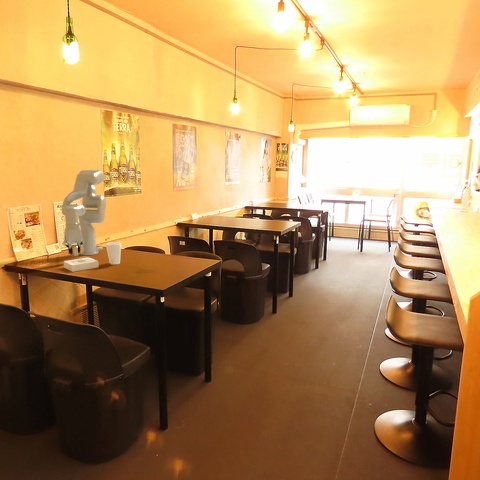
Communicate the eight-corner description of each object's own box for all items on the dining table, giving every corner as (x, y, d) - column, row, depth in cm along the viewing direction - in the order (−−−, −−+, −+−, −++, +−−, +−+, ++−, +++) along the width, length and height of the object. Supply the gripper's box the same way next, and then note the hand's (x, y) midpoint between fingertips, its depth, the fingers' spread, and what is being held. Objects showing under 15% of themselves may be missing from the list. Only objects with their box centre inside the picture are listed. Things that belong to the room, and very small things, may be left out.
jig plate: (89, 263, 261) (89, 257, 261) (98, 267, 251) (98, 261, 251) (64, 267, 251) (63, 261, 250) (72, 271, 241) (72, 265, 240)
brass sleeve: (77, 254, 267) (76, 244, 266) (79, 256, 264) (78, 245, 263) (70, 255, 264) (69, 245, 263) (72, 257, 261) (71, 246, 260)
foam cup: (125, 262, 264) (124, 242, 261) (115, 265, 255) (114, 245, 253) (114, 261, 268) (112, 241, 265) (103, 264, 259) (102, 244, 257)
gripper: (83, 223, 268) (85, 250, 272) (56, 226, 257) (59, 254, 261) (87, 225, 263) (89, 252, 267) (60, 228, 252) (63, 256, 256)
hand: (74, 253), depth 264 cm, fingers closed on brass sleeve, 4 cm apart
